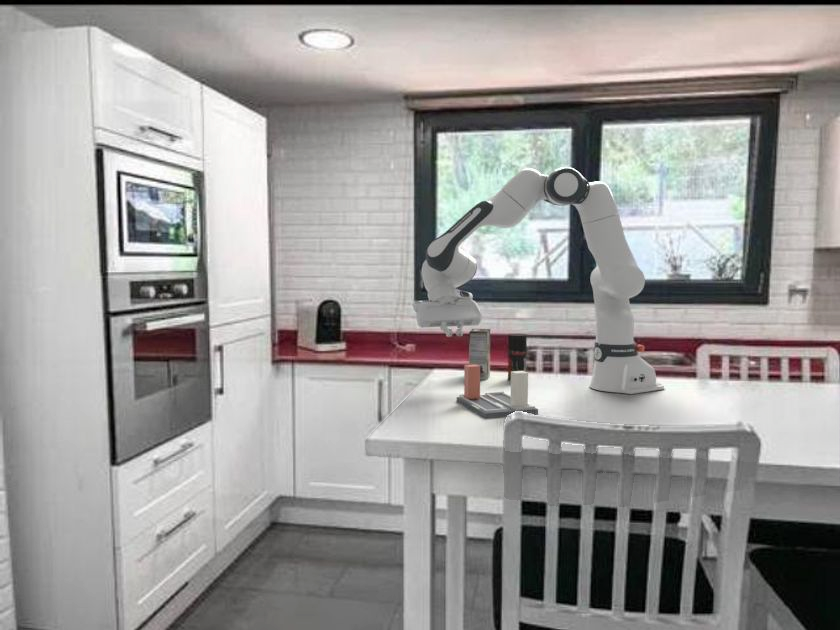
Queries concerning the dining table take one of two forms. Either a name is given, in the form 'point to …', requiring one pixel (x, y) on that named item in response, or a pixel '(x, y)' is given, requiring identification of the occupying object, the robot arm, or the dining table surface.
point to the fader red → (471, 381)
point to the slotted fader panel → (493, 405)
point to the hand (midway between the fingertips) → (455, 335)
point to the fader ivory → (519, 388)
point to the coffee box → (480, 351)
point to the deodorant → (516, 353)
